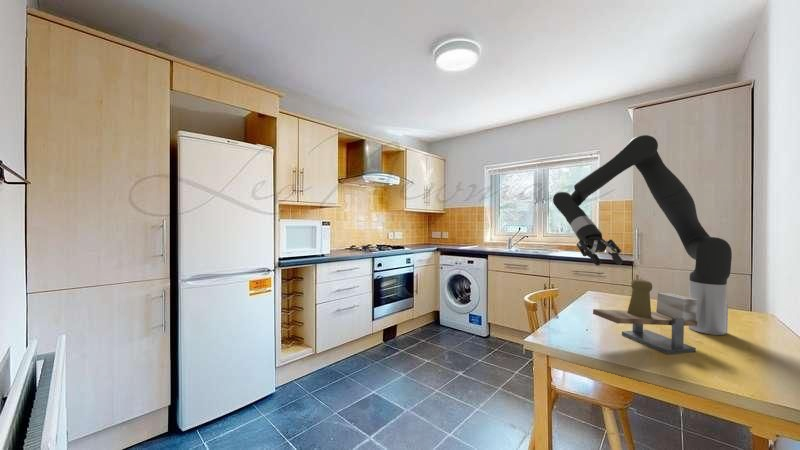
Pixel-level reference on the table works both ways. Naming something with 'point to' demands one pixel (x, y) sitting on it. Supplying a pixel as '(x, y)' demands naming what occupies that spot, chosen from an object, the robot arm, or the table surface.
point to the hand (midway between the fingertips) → (610, 264)
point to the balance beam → (657, 312)
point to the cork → (640, 299)
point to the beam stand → (662, 338)
